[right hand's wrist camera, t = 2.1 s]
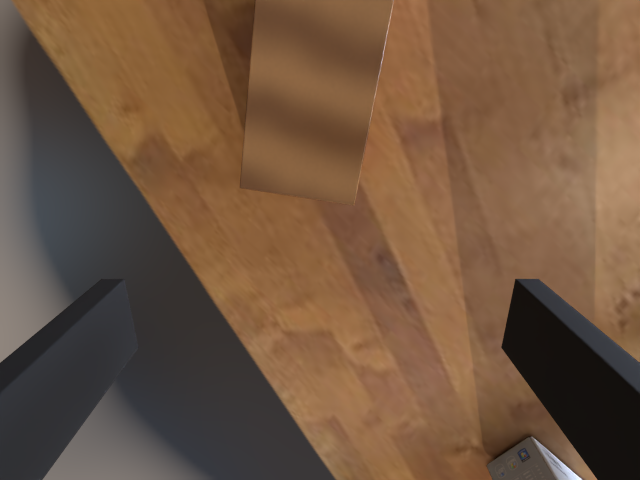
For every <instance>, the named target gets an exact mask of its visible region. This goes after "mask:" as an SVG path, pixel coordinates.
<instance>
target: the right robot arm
mask: <svg viewBox="0 0 640 480" xmlns="http://www.w3.org/2000/svg"><path fill="white" fill-rule="evenodd" d="M137 349H138V343H137V338H136V333H135V328H134V323H133V318H132V313H131V309H130V304H129V299H128V294H127V289H126V284H125V280H124V279H101V280H100V281H99V282H97V283H96V284H95V285H94V286H93V287H91V288H90V289H89V290H88V291H87V292H85V293H84V294H83V295H82V296H81V297H79V298H78V299H77V300H76V301H75V302H73V303H72V304H71V305H70V306H68V307H67V308H66V309H65V310H64V311H63V312H61V313H60V314H59V315H58V316H56V317H55V318H54V319H53V320H52V321H50V322H49V323H48V324H47V325H46V326H44V327H43V328H42V329H41V330H40V331H38V332H37V333H36V334H35V335H34V336H32V337H31V338H30V339H29V340H27V341H26V342H25V343H24V344H23V345H21V346H20V347H19V348H18V349H17V350H15V351H14V352H13V353H12V354H11V355H9V356H8V357H7V358H6V359H5V360H3V361H2V362H1V363H0V480H42V479H43V478H44V477H45V475H46V474H47V473H48V471H49V470H50V468H51V467H52V466H53V464H54V463H55V462H56V460H57V459H58V457H59V456H60V455H61V453H62V452H63V451H64V449H65V448H66V446H67V445H68V444H69V442H70V441H71V440H72V438H73V437H74V435H75V434H76V433H77V431H78V430H79V429H80V427H81V426H82V425H83V423H84V422H85V420H86V419H87V418H88V416H89V415H90V413H91V412H92V411H93V409H94V408H95V407H96V405H97V404H98V402H99V401H100V400H101V398H102V397H103V396H104V394H105V393H106V392H107V390H108V389H109V387H110V386H111V385H112V383H113V382H114V381H115V379H116V378H117V376H118V375H119V374H120V372H121V371H122V369H123V368H124V367H125V365H126V364H127V363H128V361H129V360H130V359H131V357H132V356H133V354H134V353H135V352H136V350H137ZM502 349H503V350H504V352H505V353H506V354H507V356H508V357H509V359H510V360H511V361H512V363H513V364H514V365H515V367H516V368H517V370H518V371H519V372H520V374H521V375H522V376H523V378H524V379H525V381H526V382H527V383H528V385H529V386H530V387H531V389H532V390H533V392H534V393H535V394H536V396H537V397H538V398H539V400H540V401H541V403H542V404H543V405H544V407H545V408H546V409H547V411H548V412H549V414H550V415H551V416H552V418H553V419H554V420H555V422H556V423H557V425H558V426H559V427H560V429H561V430H562V431H563V433H564V434H565V435H566V437H567V438H568V440H569V441H570V442H571V444H572V445H573V446H574V448H575V449H576V451H577V452H578V453H579V455H580V456H581V457H582V459H583V460H584V462H585V463H586V464H587V466H588V467H589V468H590V470H591V471H592V473H593V474H594V475H595V477H596V478H597V479H598V480H640V362H638V361H637V360H636V359H634V358H633V357H632V356H631V355H629V354H628V353H627V352H626V351H625V350H623V349H622V348H621V347H620V346H619V345H617V344H616V343H615V342H614V341H613V340H611V339H610V338H609V337H608V336H607V335H605V334H604V333H603V332H602V331H600V330H599V329H598V328H597V327H596V326H594V325H593V324H592V323H591V322H590V321H588V320H587V319H586V318H585V317H584V316H582V315H581V314H580V313H579V312H578V311H576V310H575V309H574V308H573V307H572V306H570V305H569V304H568V303H567V302H565V301H564V300H563V299H562V298H561V297H559V296H558V295H557V294H556V293H555V292H553V291H552V290H551V289H550V288H549V287H547V286H546V285H545V284H544V283H543V282H541V281H540V280H539V279H515V284H514V289H513V294H512V299H511V304H510V309H509V313H508V318H507V323H506V328H505V333H504V338H503V343H502Z"/></svg>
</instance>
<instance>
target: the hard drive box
mask: <svg viewBox="0 0 640 480" xmlns="http://www.w3.org/2000/svg"><path fill="white" fill-rule="evenodd" d="M487 468H488V470H489V472H490V475H491V477H492V479H493V480H582V479H581V478H579V477H578V476H577V475H576V474H575V473H574V472H572V471H571V470H570V469H569V468H568V467H567V466H566V465H564V464H563V463H562V462H561V461H560V460H559V459H558V458H556V457H555V456H554V455H553V454H552V453H551V452H550V451H549V450H548V449H546V448H545V447H544V446H543V445H541V444H540V443H539V442H538V441H537V440H536V439H534V438H533V437H530V438H529V437H528V438H526V439H525V440H523V441H522V442H520V443H519V444H517V445H516V446H515V447H513V448H511V449H510V450H508V451H507V452H505V453H504V454H502V455H501V456H499V457H498V458H496V459H495V460H493V461H492V462H490V463H489V464H487Z"/></svg>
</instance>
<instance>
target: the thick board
mask: <svg viewBox="0 0 640 480" xmlns="http://www.w3.org/2000/svg"><path fill="white" fill-rule="evenodd" d="M393 3H394V0H255V9H254V22H253V34H252V46H251V58H250V70H249V82H248V94H247V106H246V119H245V131H244V143H243V155H242V167H241V179H240V188H243V189H250V190H256V191H263V192H269V193H276V194H282V195H289V196H295V197H302V198H308V199H315V200H321V201H328V202H334V203H341V204H347V205H354V204H355V198H356V193H357V188H358V183H359V178H360V173H361V168H362V163H363V157H364V152H365V147H366V142H367V137H368V132H369V127H370V121H371V116H372V111H373V106H374V101H375V96H376V91H377V85H378V80H379V75H380V70H381V65H382V60H383V55H384V49H385V44H386V39H387V34H388V29H389V24H390V19H391V13H392V8H393Z"/></svg>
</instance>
